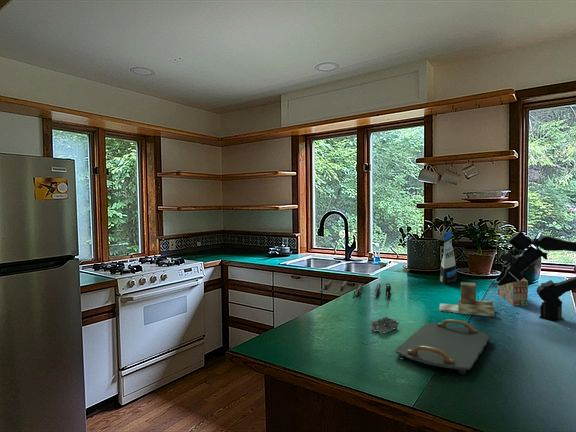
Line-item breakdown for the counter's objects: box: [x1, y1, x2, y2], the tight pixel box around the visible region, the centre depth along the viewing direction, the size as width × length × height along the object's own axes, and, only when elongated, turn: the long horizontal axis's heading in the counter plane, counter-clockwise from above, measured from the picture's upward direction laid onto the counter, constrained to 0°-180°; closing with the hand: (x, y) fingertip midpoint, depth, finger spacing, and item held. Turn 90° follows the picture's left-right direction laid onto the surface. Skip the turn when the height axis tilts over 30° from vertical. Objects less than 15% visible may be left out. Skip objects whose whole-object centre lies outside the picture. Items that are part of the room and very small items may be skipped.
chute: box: [438, 298, 496, 317], centre depth 168 cm, size 22×10×4 cm, turn 66°
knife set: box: [318, 279, 392, 300], centre depth 198 cm, size 35×33×8 cm
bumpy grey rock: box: [369, 316, 400, 334], centre depth 147 cm, size 11×8×4 cm
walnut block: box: [460, 281, 477, 305], centre depth 168 cm, size 6×6×11 cm
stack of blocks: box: [496, 277, 529, 307], centre depth 184 cm, size 21×6×12 cm, turn 168°
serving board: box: [394, 318, 492, 376], centre depth 127 cm, size 39×23×6 cm, turn 142°
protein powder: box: [439, 230, 458, 285], centre depth 229 cm, size 10×24×30 cm, turn 147°
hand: (497, 282), depth 163 cm, fingers open, 9 cm apart
